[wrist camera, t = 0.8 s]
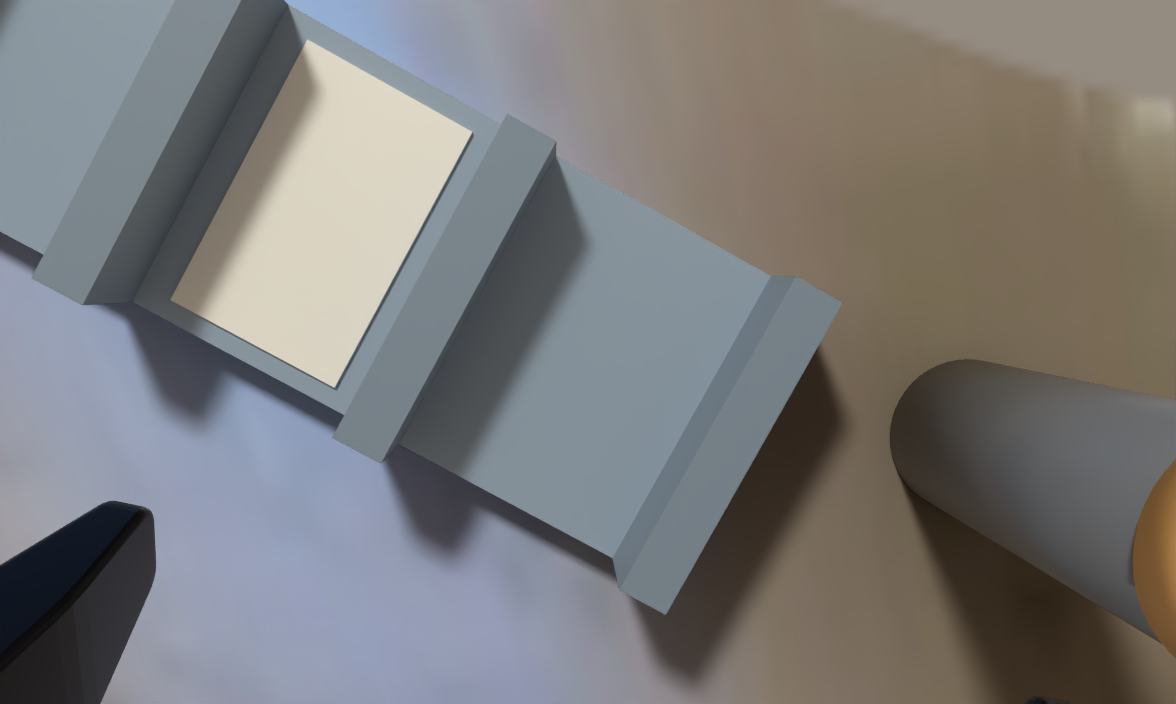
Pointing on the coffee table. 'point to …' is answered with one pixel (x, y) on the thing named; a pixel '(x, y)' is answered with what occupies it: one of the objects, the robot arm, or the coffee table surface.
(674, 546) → the grey divided tray
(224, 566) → the coffee table surface
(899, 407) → the grey cylinder
